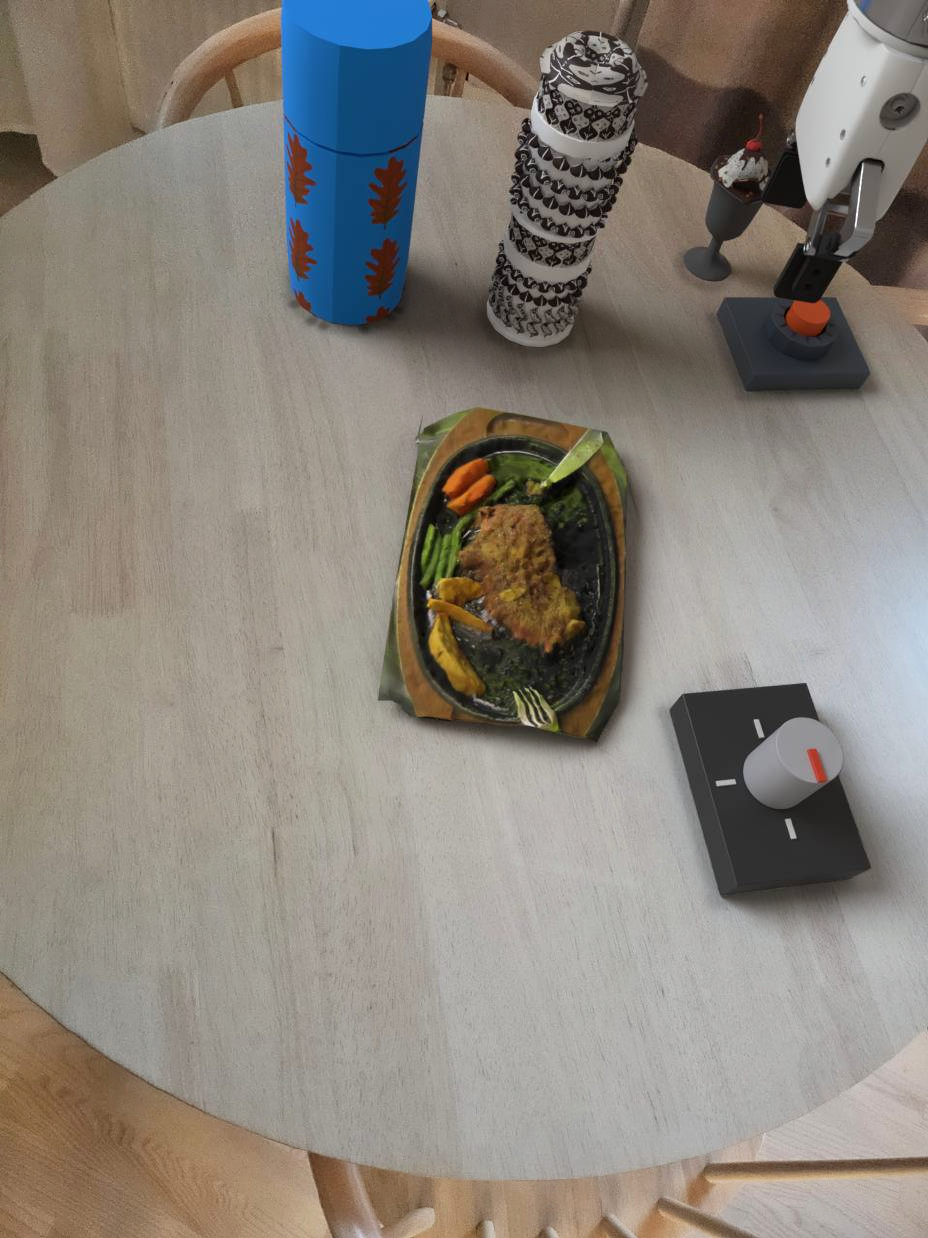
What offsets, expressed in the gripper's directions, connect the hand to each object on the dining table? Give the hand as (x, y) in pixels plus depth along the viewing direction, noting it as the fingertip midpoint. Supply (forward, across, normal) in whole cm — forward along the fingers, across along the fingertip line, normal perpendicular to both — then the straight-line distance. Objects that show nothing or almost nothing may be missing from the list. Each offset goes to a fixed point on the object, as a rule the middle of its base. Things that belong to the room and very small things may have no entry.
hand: (787, 248), depth 66 cm
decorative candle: (+21, +13, +14) cm, 29 cm away
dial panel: (+21, -32, -4) cm, 39 cm away
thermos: (+21, +13, +32) cm, 41 cm away
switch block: (+21, +14, -11) cm, 27 cm away
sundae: (+21, +24, -3) cm, 32 cm away
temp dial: (+18, -32, -4) cm, 37 cm away
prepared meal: (+21, -16, +15) cm, 31 cm away
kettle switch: (+18, +13, -11) cm, 25 cm away
